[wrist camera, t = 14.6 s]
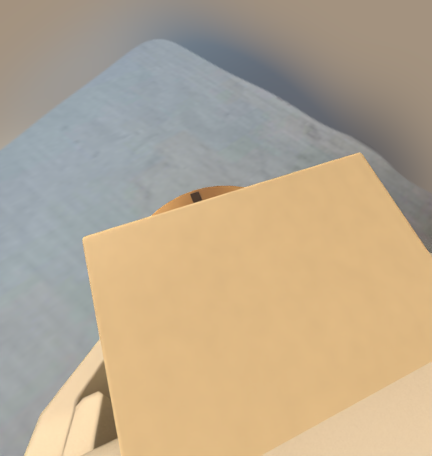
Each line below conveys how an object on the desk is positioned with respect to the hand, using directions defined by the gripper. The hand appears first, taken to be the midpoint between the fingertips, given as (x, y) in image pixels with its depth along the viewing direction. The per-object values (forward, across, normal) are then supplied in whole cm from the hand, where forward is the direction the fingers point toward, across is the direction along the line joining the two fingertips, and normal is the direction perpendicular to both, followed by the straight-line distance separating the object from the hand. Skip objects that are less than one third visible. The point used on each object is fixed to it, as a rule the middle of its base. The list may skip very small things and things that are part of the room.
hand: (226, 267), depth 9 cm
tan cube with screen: (0, 0, +1) cm, 1 cm away
